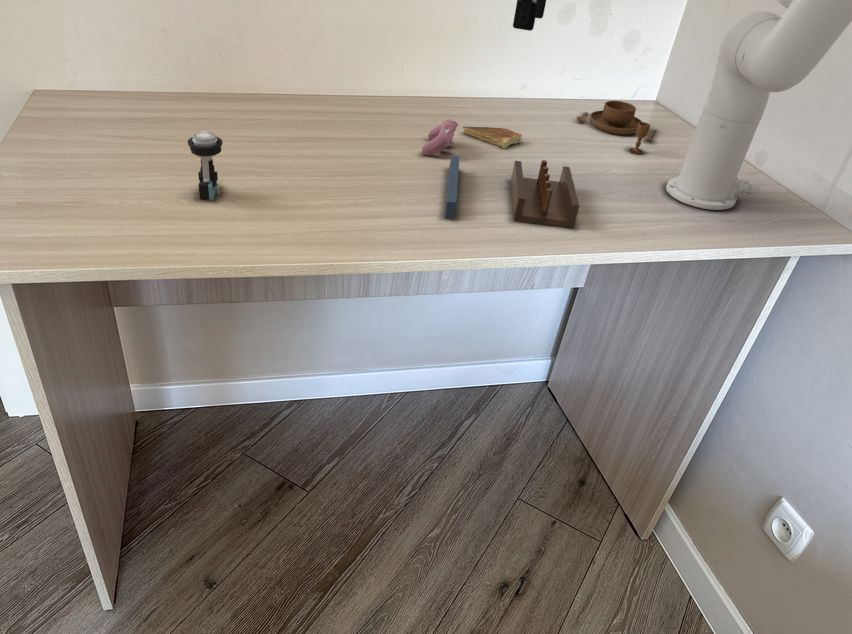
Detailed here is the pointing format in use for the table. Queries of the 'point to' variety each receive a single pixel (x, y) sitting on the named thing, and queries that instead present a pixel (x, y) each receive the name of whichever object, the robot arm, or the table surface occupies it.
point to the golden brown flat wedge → (494, 135)
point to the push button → (206, 161)
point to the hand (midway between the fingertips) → (528, 22)
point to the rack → (544, 197)
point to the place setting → (620, 122)
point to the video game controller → (440, 137)
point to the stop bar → (452, 187)
